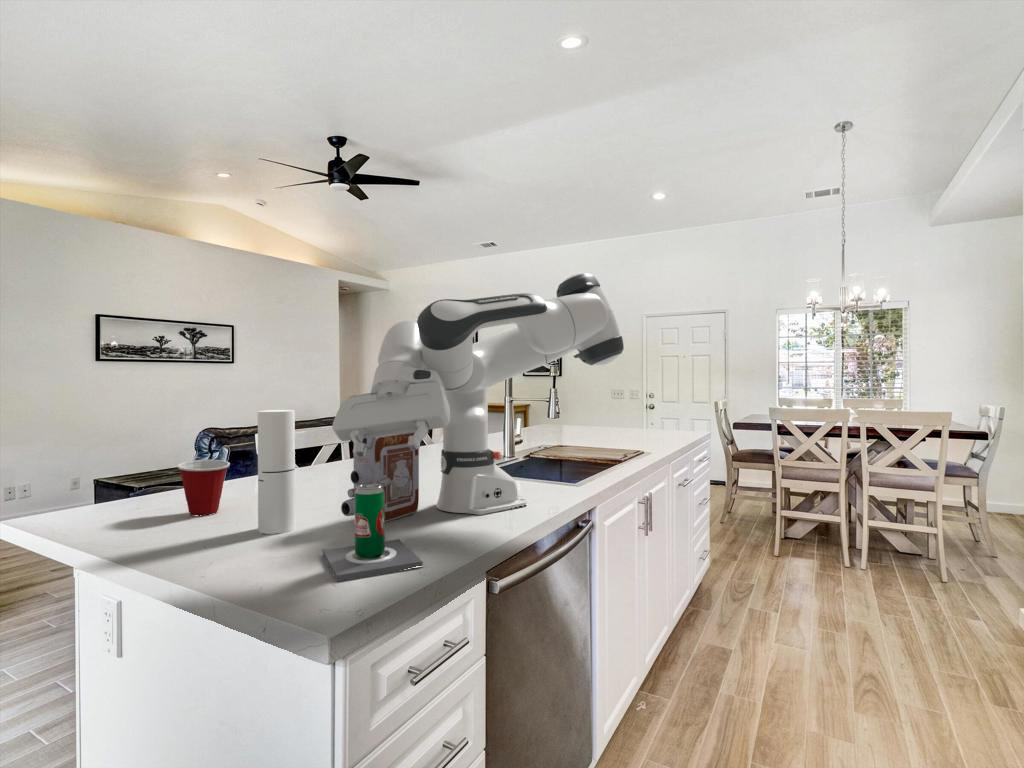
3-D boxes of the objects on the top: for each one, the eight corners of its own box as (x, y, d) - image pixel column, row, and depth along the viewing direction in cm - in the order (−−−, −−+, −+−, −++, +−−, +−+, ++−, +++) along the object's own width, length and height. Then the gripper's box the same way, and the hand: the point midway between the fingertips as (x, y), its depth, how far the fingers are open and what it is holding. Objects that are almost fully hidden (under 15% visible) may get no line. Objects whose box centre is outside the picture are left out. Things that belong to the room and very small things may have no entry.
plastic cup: (193, 522, 120) (192, 468, 119) (167, 515, 125) (167, 463, 125) (240, 511, 129) (239, 461, 129) (214, 505, 134) (214, 457, 134)
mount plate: (399, 544, 104) (399, 538, 104) (422, 567, 92) (422, 560, 92) (323, 555, 97) (323, 548, 97) (336, 581, 85) (336, 574, 85)
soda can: (349, 555, 94) (348, 486, 94) (373, 548, 98) (373, 482, 98) (365, 561, 91) (365, 489, 91) (390, 554, 94) (390, 485, 94)
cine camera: (329, 526, 117) (329, 433, 116) (395, 507, 133) (395, 426, 132) (358, 533, 111) (358, 436, 111) (423, 513, 128) (423, 428, 127)
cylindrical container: (281, 535, 110) (281, 412, 110) (250, 533, 111) (249, 411, 111) (302, 525, 117) (301, 410, 117) (272, 523, 118) (272, 409, 118)
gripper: (335, 386, 97) (318, 447, 88) (445, 369, 95) (439, 431, 85) (349, 408, 102) (334, 469, 92) (454, 393, 99) (450, 454, 90)
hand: (385, 451), depth 89 cm, fingers open, 8 cm apart
